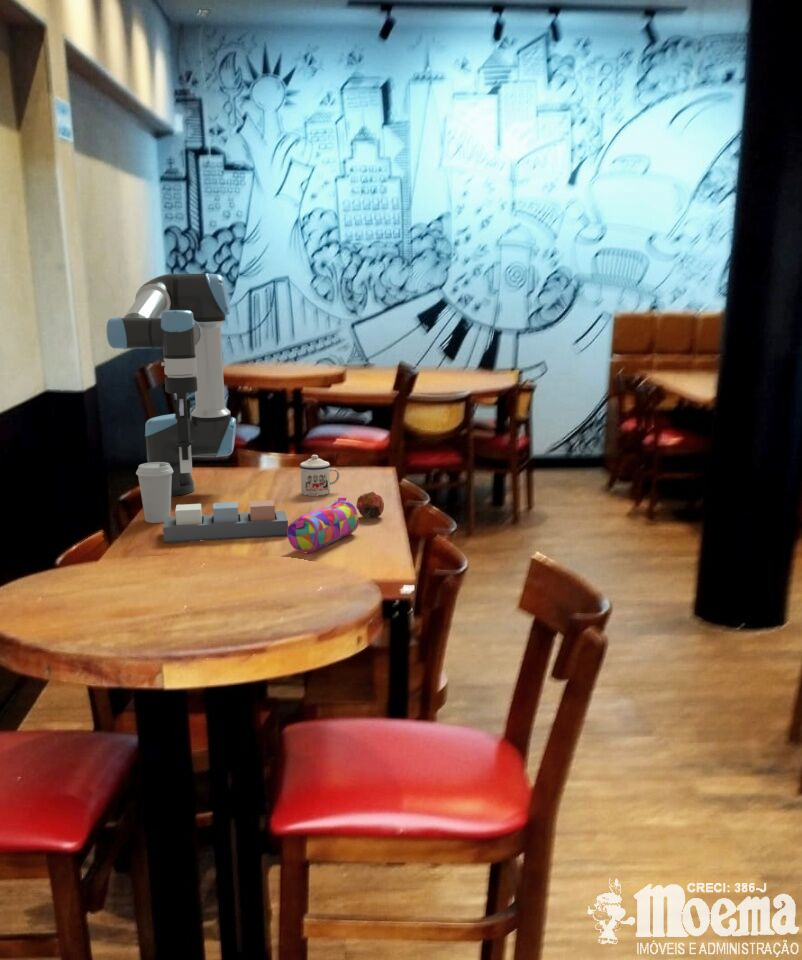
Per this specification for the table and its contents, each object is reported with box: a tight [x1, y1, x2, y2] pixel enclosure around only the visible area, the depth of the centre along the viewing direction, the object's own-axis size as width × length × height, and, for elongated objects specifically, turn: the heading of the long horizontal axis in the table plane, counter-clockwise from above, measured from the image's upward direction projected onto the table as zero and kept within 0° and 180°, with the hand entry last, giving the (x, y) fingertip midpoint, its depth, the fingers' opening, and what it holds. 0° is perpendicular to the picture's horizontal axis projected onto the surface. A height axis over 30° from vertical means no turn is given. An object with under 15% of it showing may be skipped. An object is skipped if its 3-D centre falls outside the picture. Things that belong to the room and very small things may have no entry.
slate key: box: [212, 501, 239, 523], centre depth 215 cm, size 6×6×4 cm
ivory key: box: [174, 503, 203, 525], centre depth 213 cm, size 6×6×4 cm
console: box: [162, 510, 289, 544], centre depth 216 cm, size 10×30×4 cm, turn 101°
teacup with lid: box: [299, 454, 341, 497], centre depth 258 cm, size 12×9×12 cm
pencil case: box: [286, 497, 359, 554], centre depth 208 cm, size 22×9×9 cm, turn 157°
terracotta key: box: [249, 499, 276, 521], centre depth 217 cm, size 6×6×4 cm
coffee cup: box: [135, 462, 173, 524], centre depth 228 cm, size 10×10×15 cm
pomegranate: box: [355, 491, 385, 522], centre depth 230 cm, size 7×7×10 cm
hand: (186, 472), depth 211 cm, fingers closed
